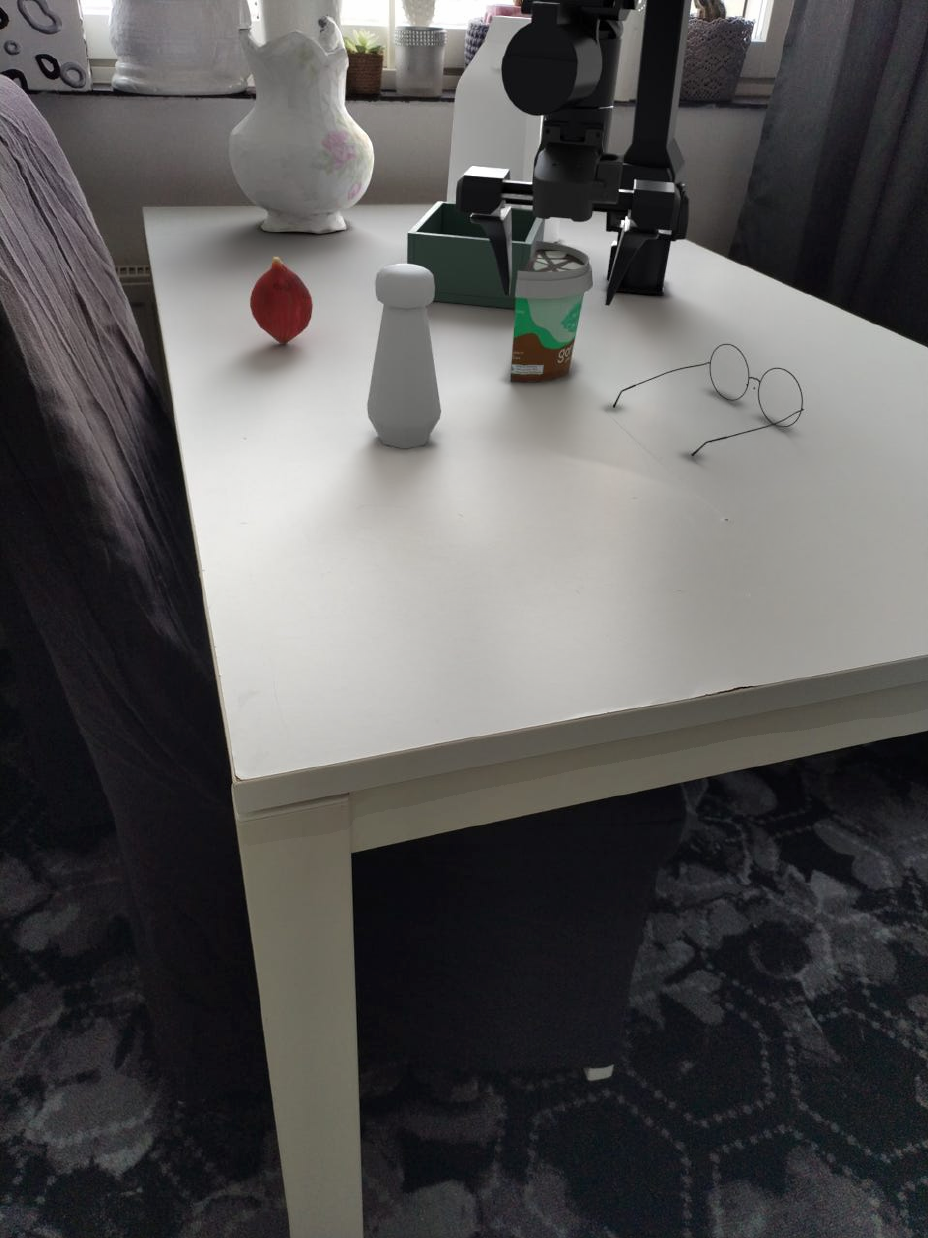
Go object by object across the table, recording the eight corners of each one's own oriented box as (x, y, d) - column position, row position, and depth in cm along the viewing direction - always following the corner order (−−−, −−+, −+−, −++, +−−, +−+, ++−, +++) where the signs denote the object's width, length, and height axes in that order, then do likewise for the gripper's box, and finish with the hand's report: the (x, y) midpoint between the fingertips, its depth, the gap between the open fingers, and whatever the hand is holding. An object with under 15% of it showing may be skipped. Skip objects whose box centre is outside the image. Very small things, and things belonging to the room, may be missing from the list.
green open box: (540, 269, 113) (546, 210, 109) (525, 310, 99) (531, 244, 95) (436, 259, 114) (437, 200, 110) (406, 298, 100) (407, 232, 96)
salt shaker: (367, 421, 73) (364, 255, 65) (437, 422, 73) (442, 257, 65) (367, 452, 68) (364, 277, 60) (442, 453, 68) (448, 279, 61)
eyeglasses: (699, 462, 69) (713, 401, 66) (604, 403, 78) (613, 347, 75) (802, 439, 74) (820, 381, 71) (702, 386, 83) (714, 332, 80)
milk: (558, 240, 126) (580, 20, 110) (518, 256, 118) (536, 20, 102) (486, 226, 131) (498, 13, 115) (443, 240, 123) (450, 13, 107)
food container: (575, 395, 79) (589, 280, 73) (507, 386, 80) (516, 272, 74) (587, 350, 89) (601, 245, 83) (526, 343, 90) (536, 238, 84)
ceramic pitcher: (272, 210, 137) (244, 16, 123) (395, 209, 135) (381, 11, 120) (223, 244, 120) (183, 23, 105) (362, 244, 118) (341, 18, 103)
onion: (324, 338, 88) (320, 254, 83) (297, 357, 84) (291, 269, 79) (272, 329, 89) (265, 246, 85) (242, 347, 85) (234, 260, 80)
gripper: (447, 106, 66) (440, 316, 76) (699, 125, 64) (660, 338, 74) (470, 91, 75) (462, 281, 84) (692, 107, 73) (659, 300, 82)
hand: (557, 299), depth 81 cm, fingers open, 9 cm apart
